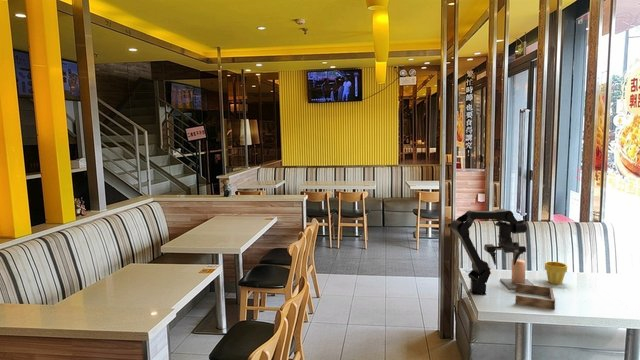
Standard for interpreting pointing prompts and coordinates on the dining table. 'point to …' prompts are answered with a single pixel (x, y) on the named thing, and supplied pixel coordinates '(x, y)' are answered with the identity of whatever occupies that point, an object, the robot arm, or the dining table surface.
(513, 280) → the candle
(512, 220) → the robot arm
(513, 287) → the slate mat
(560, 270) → the plant pot
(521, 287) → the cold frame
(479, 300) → the dining table surface
